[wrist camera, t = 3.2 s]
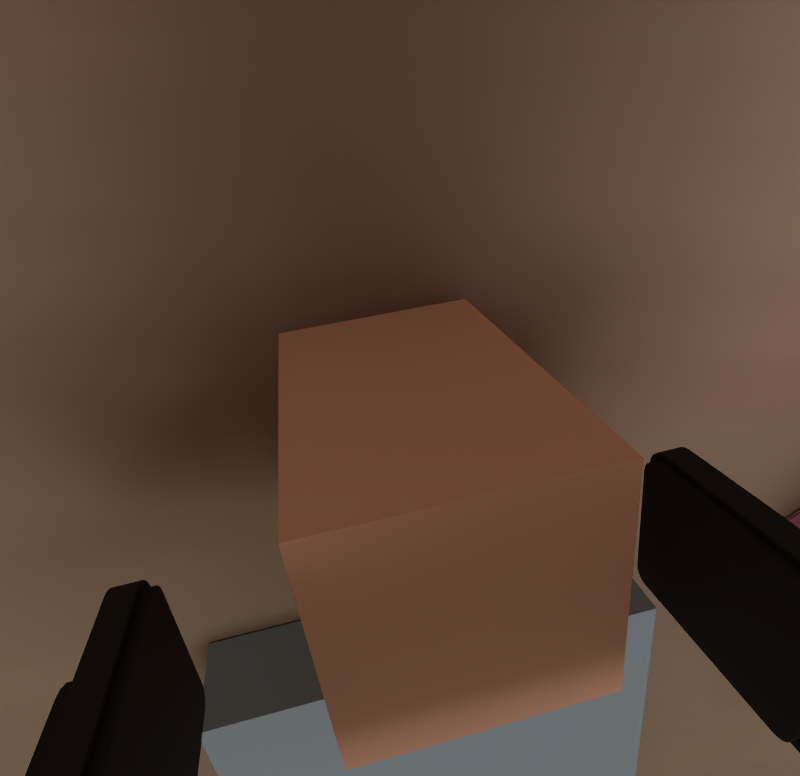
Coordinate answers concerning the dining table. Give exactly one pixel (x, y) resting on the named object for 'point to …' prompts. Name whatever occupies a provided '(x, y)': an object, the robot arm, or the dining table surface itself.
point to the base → (424, 768)
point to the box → (795, 518)
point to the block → (448, 528)
